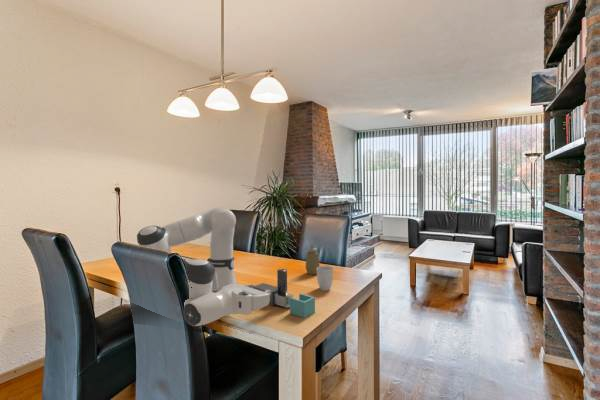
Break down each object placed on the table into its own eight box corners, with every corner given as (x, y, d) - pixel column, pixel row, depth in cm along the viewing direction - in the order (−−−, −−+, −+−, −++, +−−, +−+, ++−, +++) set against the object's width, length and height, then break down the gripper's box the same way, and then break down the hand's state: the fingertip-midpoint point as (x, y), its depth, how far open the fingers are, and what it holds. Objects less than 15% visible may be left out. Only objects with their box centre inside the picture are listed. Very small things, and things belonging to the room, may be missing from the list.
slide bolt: (257, 298, 132) (256, 266, 131) (264, 295, 135) (263, 264, 134) (286, 307, 121) (286, 273, 120) (293, 304, 124) (292, 270, 124)
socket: (289, 313, 118) (289, 298, 118) (300, 307, 123) (300, 293, 123) (304, 318, 114) (304, 302, 113) (314, 312, 119) (314, 297, 118)
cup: (336, 287, 147) (336, 267, 147) (329, 292, 140) (329, 271, 140) (321, 284, 152) (321, 265, 151) (313, 289, 145) (313, 269, 144)
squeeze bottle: (308, 276, 166) (307, 243, 165) (303, 272, 174) (303, 241, 173) (321, 274, 168) (321, 243, 167) (316, 271, 176) (316, 240, 175)
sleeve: (253, 299, 132) (253, 286, 132) (263, 296, 137) (263, 282, 137) (272, 306, 125) (272, 292, 125) (282, 302, 129) (281, 288, 129)
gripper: (214, 301, 112) (243, 291, 122) (251, 316, 99) (280, 303, 109) (213, 284, 111) (242, 275, 122) (250, 297, 98) (280, 286, 109)
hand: (260, 288), depth 115 cm, fingers open, 8 cm apart
